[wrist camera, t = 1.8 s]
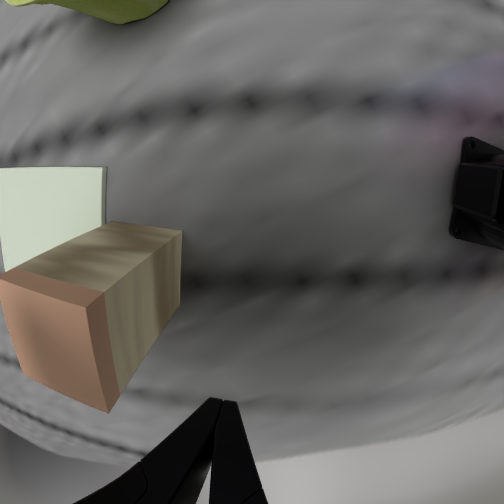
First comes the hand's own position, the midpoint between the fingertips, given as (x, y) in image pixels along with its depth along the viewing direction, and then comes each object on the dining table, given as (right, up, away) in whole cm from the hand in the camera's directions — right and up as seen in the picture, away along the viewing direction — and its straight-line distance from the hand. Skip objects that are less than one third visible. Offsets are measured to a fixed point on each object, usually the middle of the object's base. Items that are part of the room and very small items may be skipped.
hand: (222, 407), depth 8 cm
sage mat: (-15, +5, +11) cm, 19 cm away
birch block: (-6, +4, +10) cm, 13 cm away
